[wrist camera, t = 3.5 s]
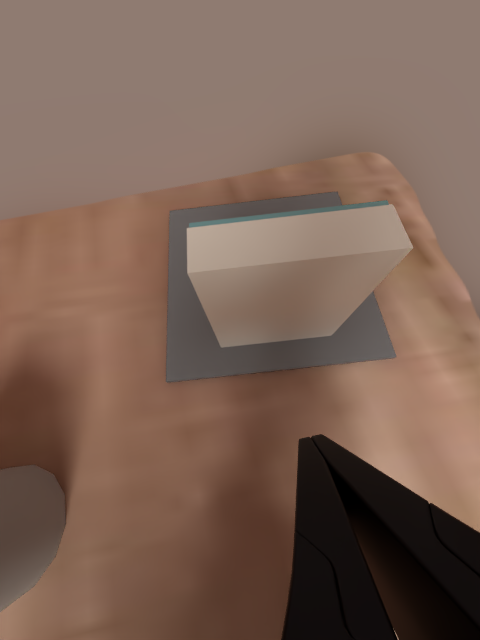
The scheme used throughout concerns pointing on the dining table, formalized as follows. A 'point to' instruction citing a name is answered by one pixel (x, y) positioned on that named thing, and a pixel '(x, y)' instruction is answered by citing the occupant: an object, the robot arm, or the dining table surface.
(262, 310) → the cream flat block
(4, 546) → the cup
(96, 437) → the dining table surface
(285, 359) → the mat
